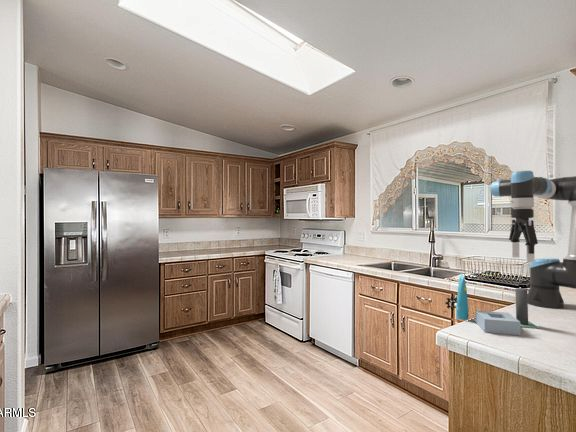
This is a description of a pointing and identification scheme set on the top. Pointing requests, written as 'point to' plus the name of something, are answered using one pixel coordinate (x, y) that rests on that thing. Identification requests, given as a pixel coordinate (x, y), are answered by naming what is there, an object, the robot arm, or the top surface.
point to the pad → (529, 325)
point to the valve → (453, 303)
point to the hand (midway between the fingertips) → (522, 259)
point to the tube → (462, 300)
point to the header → (497, 322)
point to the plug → (521, 306)
